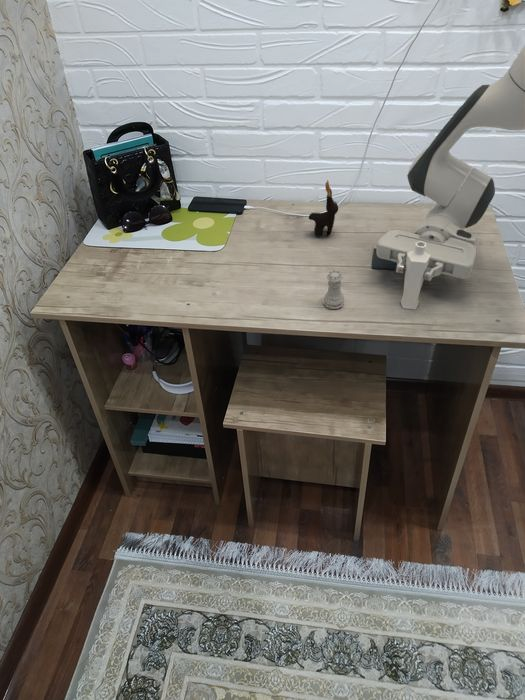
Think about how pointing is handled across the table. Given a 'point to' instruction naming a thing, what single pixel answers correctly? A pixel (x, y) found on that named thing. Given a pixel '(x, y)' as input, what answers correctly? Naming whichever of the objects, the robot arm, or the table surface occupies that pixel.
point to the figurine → (325, 215)
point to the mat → (382, 263)
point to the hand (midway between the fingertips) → (413, 273)
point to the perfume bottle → (414, 275)
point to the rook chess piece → (334, 291)
